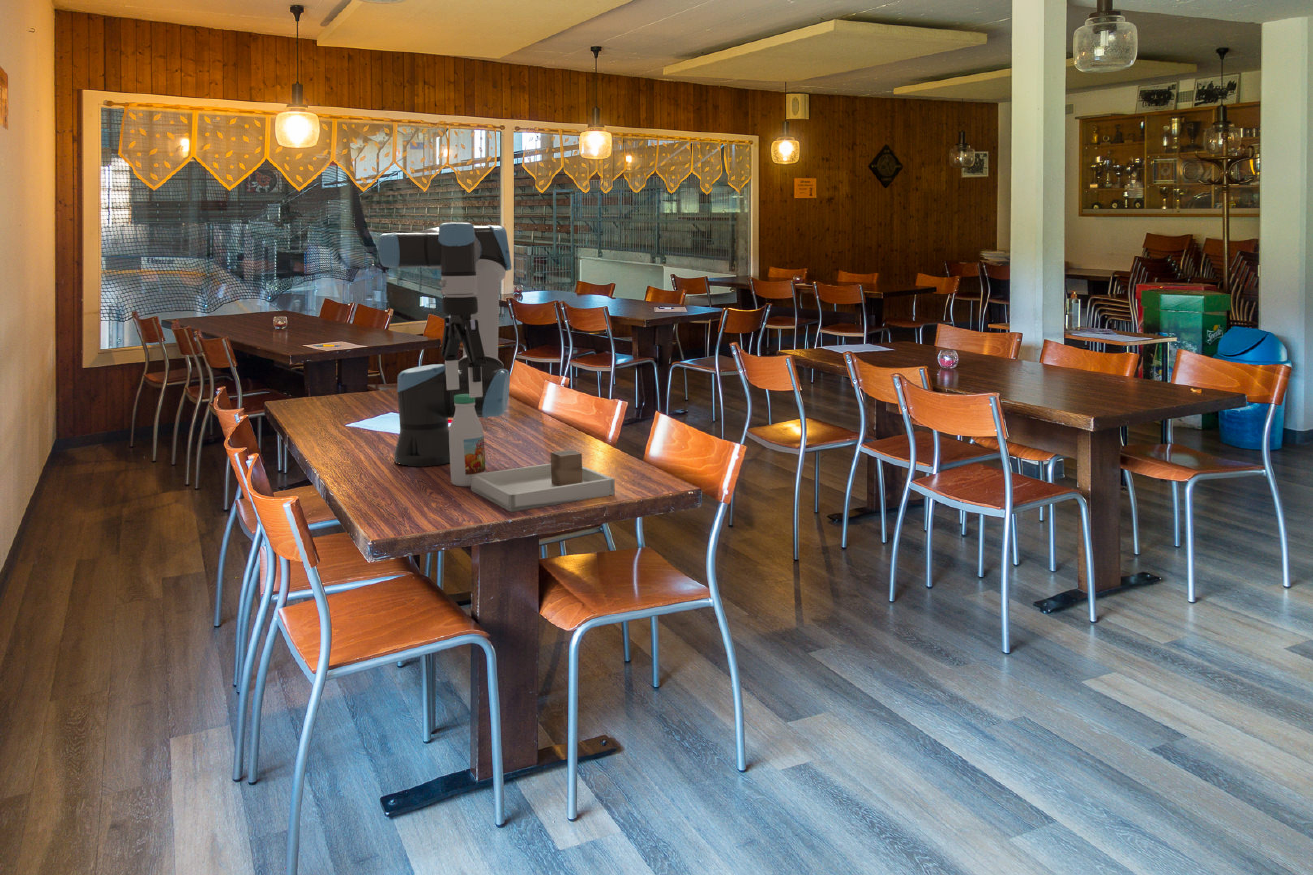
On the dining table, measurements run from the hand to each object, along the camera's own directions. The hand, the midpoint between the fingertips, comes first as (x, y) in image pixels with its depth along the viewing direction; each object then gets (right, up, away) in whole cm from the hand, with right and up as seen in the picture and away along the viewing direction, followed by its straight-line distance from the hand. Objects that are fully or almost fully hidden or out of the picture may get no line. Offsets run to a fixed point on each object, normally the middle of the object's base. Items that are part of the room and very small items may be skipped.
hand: (464, 393), depth 221 cm
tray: (+18, -22, -5) cm, 28 cm away
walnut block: (+23, -20, -2) cm, 30 cm away
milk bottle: (0, -20, +4) cm, 21 cm away
